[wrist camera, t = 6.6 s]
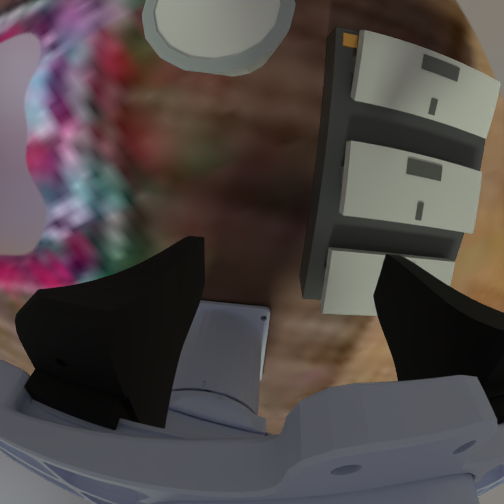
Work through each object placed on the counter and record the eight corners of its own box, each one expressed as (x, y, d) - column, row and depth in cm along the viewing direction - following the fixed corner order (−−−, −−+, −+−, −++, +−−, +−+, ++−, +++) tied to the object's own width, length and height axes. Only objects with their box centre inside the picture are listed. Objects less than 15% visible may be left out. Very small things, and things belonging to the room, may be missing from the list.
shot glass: (309, 40, 15) (329, 7, 9) (232, 106, 18) (212, 104, 12) (235, -22, 13) (219, -71, 7) (161, 43, 16) (113, 21, 10)
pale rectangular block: (435, 311, 19) (442, 316, 18) (319, 307, 19) (322, 313, 18) (447, 258, 18) (455, 262, 17) (328, 247, 18) (332, 250, 17)
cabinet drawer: (478, 133, 14) (486, 139, 13) (350, 96, 14) (355, 101, 13) (491, 78, 11) (501, 83, 10) (359, 30, 11) (365, 30, 11)
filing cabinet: (425, 284, 23) (441, 308, 20) (299, 275, 23) (303, 302, 20) (469, 80, 15) (496, 80, 12) (327, 38, 15) (338, 24, 12)
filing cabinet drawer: (464, 230, 16) (473, 234, 15) (338, 212, 16) (343, 215, 15) (473, 170, 15) (482, 172, 14) (346, 141, 15) (351, 140, 14)
